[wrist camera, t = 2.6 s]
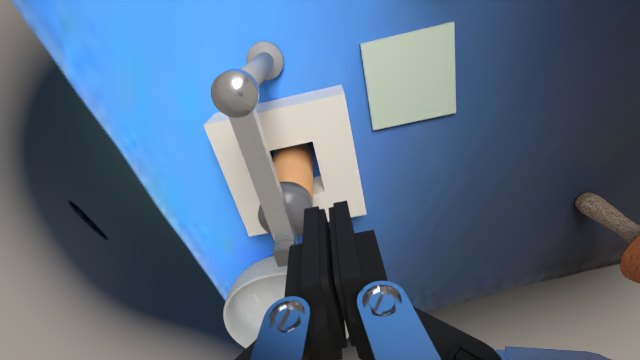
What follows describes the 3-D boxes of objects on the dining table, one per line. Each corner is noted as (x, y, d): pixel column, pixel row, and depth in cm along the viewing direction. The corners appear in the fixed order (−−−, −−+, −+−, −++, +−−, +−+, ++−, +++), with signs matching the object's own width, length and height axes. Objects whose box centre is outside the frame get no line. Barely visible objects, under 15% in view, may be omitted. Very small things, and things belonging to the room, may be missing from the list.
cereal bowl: (239, 318, 51) (228, 361, 44) (229, 233, 43) (215, 271, 37) (347, 319, 51) (351, 362, 45) (356, 236, 43) (363, 274, 37)
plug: (308, 135, 36) (305, 188, 26) (317, 170, 38) (318, 233, 28) (268, 143, 37) (250, 199, 26) (280, 178, 39) (267, 242, 28)
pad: (451, 21, 31) (454, 22, 30) (453, 111, 35) (456, 112, 35) (359, 43, 32) (360, 44, 31) (372, 128, 36) (373, 130, 35)
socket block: (330, 24, 31) (339, 35, 19) (362, 196, 40) (381, 273, 29) (193, 58, 32) (125, 86, 21) (254, 217, 41) (231, 298, 30)
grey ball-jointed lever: (208, 74, 20) (197, 81, 18) (251, 64, 20) (244, 70, 18) (274, 249, 27) (270, 268, 25) (306, 243, 26) (306, 262, 25)
